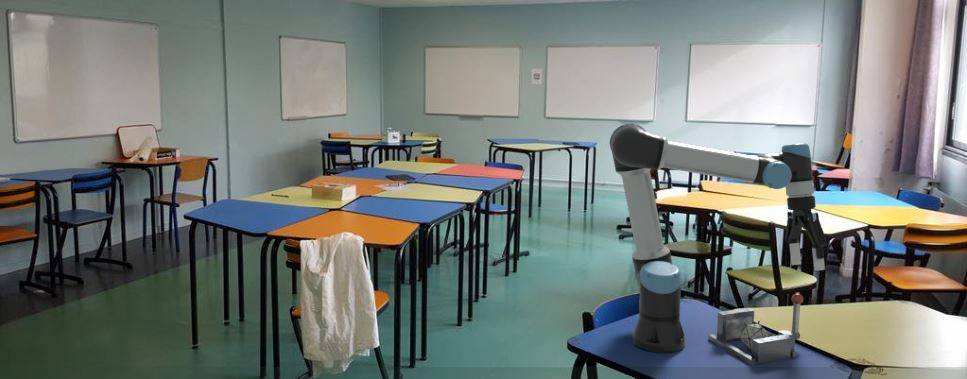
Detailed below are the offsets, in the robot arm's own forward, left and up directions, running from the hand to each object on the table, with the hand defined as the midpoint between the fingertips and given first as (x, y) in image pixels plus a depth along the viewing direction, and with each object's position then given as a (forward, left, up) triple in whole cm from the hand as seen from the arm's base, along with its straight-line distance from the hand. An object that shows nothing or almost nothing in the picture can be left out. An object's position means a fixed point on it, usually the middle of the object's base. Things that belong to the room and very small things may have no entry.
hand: (807, 267), depth 204 cm
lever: (+6, -8, -19) cm, 22 cm away
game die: (+2, -20, -22) cm, 30 cm away
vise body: (+1, -19, -22) cm, 29 cm away
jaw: (-6, -20, -22) cm, 30 cm away
